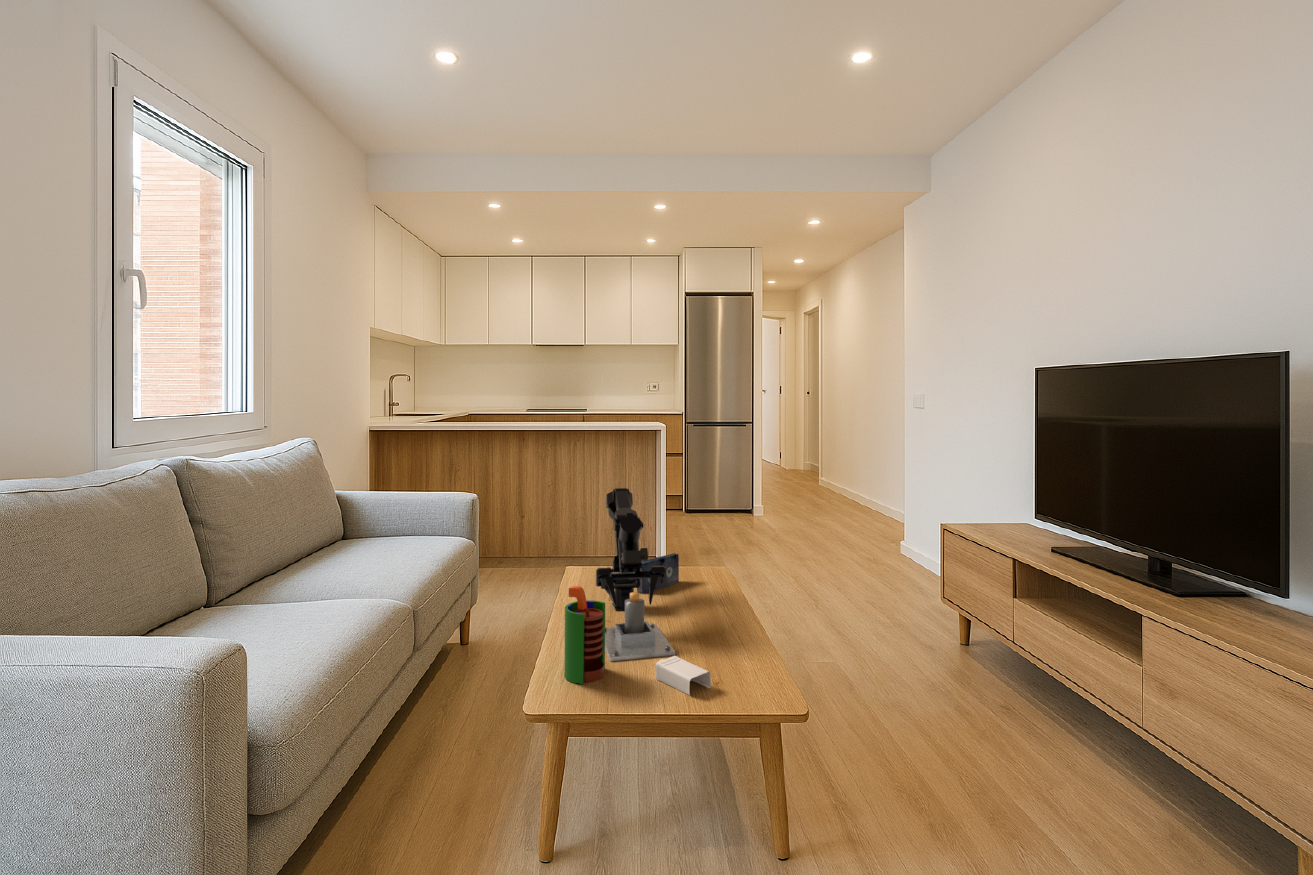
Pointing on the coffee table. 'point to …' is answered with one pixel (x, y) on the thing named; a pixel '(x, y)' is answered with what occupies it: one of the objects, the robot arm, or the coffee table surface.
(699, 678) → the white plastic end cap
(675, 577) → the vhs cassette tape
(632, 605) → the grey and orange piece
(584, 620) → the motor
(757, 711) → the coffee table surface
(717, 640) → the coffee table surface
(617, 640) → the pump mount
